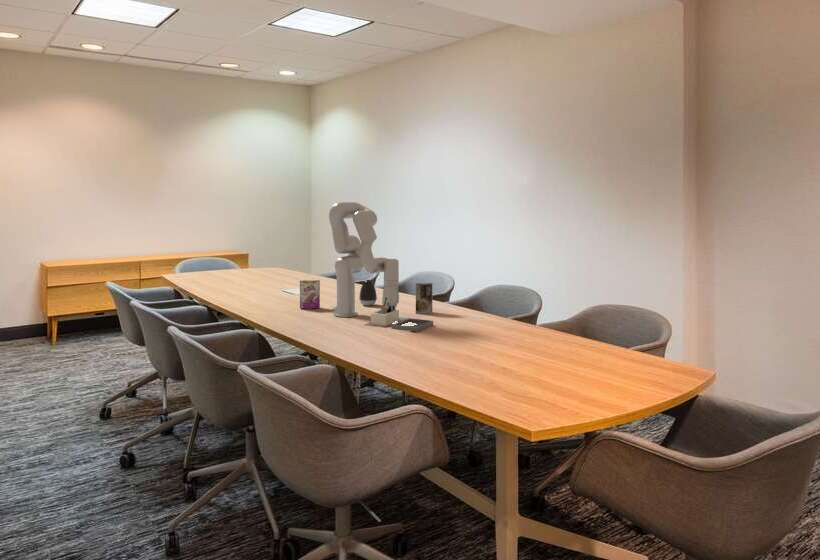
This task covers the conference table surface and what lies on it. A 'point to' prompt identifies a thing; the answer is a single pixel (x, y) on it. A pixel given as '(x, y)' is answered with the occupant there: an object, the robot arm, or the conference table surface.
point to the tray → (416, 328)
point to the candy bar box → (309, 293)
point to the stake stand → (379, 325)
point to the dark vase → (367, 293)
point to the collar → (384, 317)
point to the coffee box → (424, 298)
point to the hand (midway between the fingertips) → (391, 318)
